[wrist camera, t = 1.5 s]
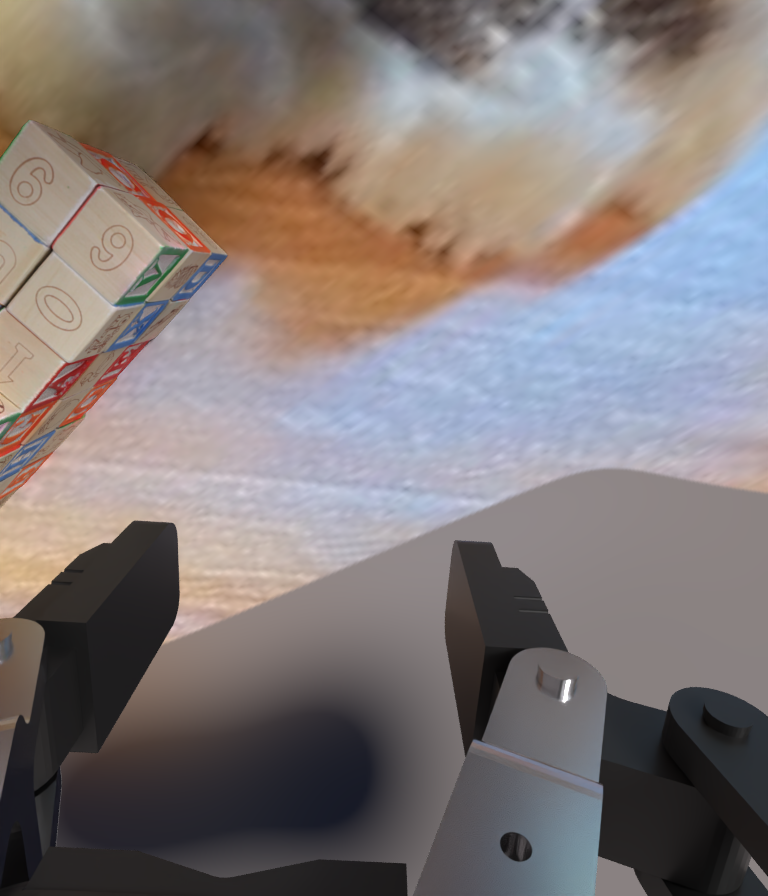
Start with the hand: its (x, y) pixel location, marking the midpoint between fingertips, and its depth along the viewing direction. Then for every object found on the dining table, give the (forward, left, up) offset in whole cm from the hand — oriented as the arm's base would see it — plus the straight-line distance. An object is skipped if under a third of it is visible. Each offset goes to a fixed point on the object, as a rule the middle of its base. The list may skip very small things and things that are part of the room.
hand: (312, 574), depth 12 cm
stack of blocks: (0, -16, -22) cm, 27 cm away
